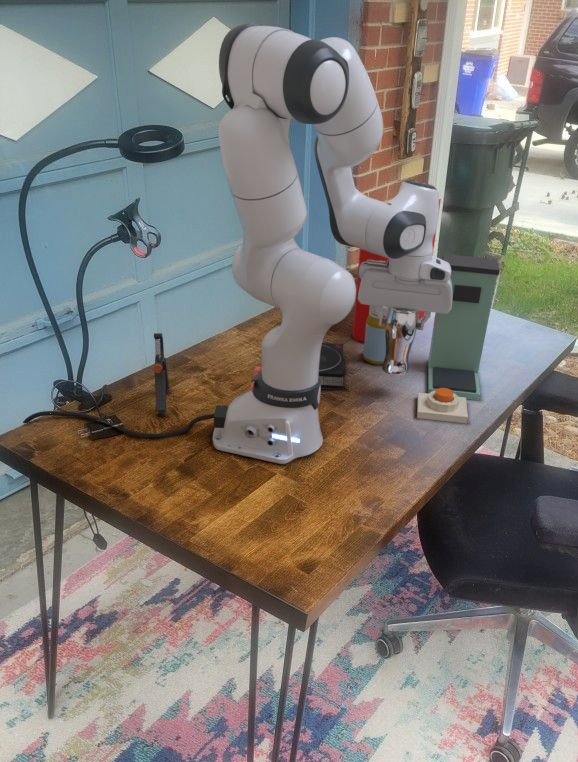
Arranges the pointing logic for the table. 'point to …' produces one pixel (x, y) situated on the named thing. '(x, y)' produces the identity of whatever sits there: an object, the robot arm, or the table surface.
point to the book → (363, 309)
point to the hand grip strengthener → (160, 375)
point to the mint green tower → (462, 327)
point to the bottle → (375, 338)
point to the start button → (444, 395)
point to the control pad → (441, 408)
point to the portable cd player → (331, 366)
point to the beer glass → (399, 339)
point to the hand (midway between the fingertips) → (401, 327)
